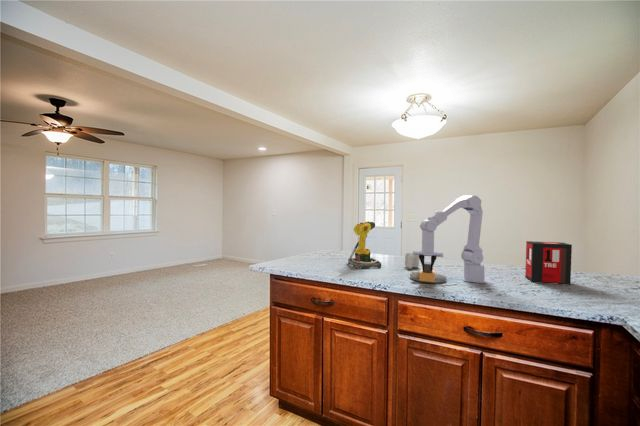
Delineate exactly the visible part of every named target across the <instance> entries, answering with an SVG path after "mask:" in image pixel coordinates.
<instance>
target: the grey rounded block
mask: <svg viewBox="0 0 640 426" xmlns="http://www.w3.org/2000/svg"><path fill="white" fill-rule="evenodd" d="M404 257H405V258H404V266H405V267H406V269H407V270H413V268H417V269H418V268H419V267H420V259H419V255H413V253H410V252H409V253H405V256H404Z"/></svg>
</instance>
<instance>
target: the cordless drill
mask: <svg viewBox="0 0 640 426" xmlns="http://www.w3.org/2000/svg"><path fill="white" fill-rule="evenodd" d="M375 227H376V223H375V222H373V221H364V222H361V223H358V224H356V225H355V226H354V227H353V232H354V233H355V235H356V236H359V237H358V242H356V245H354V248H353V250H352V252H351V254H350V256H349V257H348V260H347V261H348V262H347V263H348V265H352V266H353V268H355V269H359V268H361V269H362V270H363V269H365V270H366V269H367V270H368V269H370V268H378V269H381V268H382V263H381V261H380V260H377V259H375V258H373V257H371V249H368V248H366V239H367V238H368V234H369V232H370V231H372V230H373V229H374V228H375ZM353 256H354V257H353ZM352 257H353V258H352Z"/></svg>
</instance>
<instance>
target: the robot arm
mask: <svg viewBox="0 0 640 426" xmlns="http://www.w3.org/2000/svg"><path fill="white" fill-rule="evenodd" d="M459 209H463V210H466V211H467V213H468V214H469V215H470V216H469V225H468V232H467V233H468V235H467V240H466V241H467V242H466V244H465V245H464V246H463V250H462V252H461V255H460V256H461V259H462V260H463V277H462V281H463V282H469V283H479V284H480V283H481V284H485V279H486V276H485V264H482V262H483V260H484V255H483V248H481V246H480V238H481V232H482V231H481V230H482V221H483V209H482V199H481V198H480V197H479V196H478V195H474V194H473V195H461V196H460V197H458V198H456V199H455V201H453V202H452V203H451V204H449V205H448V206H447V207H446V208H444V209H443V210H436V211H435V212H434V214H432V215H431V216H428V217H427V219H424V220H422V221H421V223H420V224H419V228H420V229H421V250H413V251H412V254H413V255H419V262H420V263H421V267H422V268H421V269H423V270H424V263H425V258H426V257H430V263H431V271H432V268H433V269H434V265H435V262H436V260H437V258H444V253H443V252H438V251H436V252H435V231H436V230H437V228H438V227H439V226H440V225H441V224H443V223H444V222H445V221H446V220H448V216H450V215H451V214H453V213H455V212H456V211H457V210H459Z"/></svg>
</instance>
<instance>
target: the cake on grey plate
mask: <svg viewBox="0 0 640 426" xmlns="http://www.w3.org/2000/svg"><path fill="white" fill-rule="evenodd" d="M432 270H434V267H433V268H432ZM409 275H410V276H409V279H411V281H414V282H417V283H422V284H431V285H432V284H433V285H435V284H438V283H439V284H443V283H444V282H445V283H446V282H447V277H446V276H445V275H443V274H439V273H435V281H434V282H428V281H419V278H418V277H412V273H410V274H409Z"/></svg>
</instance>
